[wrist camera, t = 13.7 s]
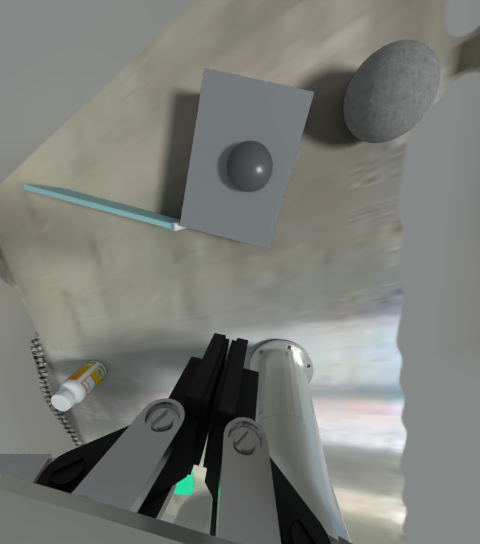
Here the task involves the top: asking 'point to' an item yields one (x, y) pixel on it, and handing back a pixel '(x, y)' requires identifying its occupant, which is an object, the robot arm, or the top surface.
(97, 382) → the supplement bottle
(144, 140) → the top surface
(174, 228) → the door
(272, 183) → the grey box with knob
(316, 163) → the top surface
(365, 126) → the decorative ball
